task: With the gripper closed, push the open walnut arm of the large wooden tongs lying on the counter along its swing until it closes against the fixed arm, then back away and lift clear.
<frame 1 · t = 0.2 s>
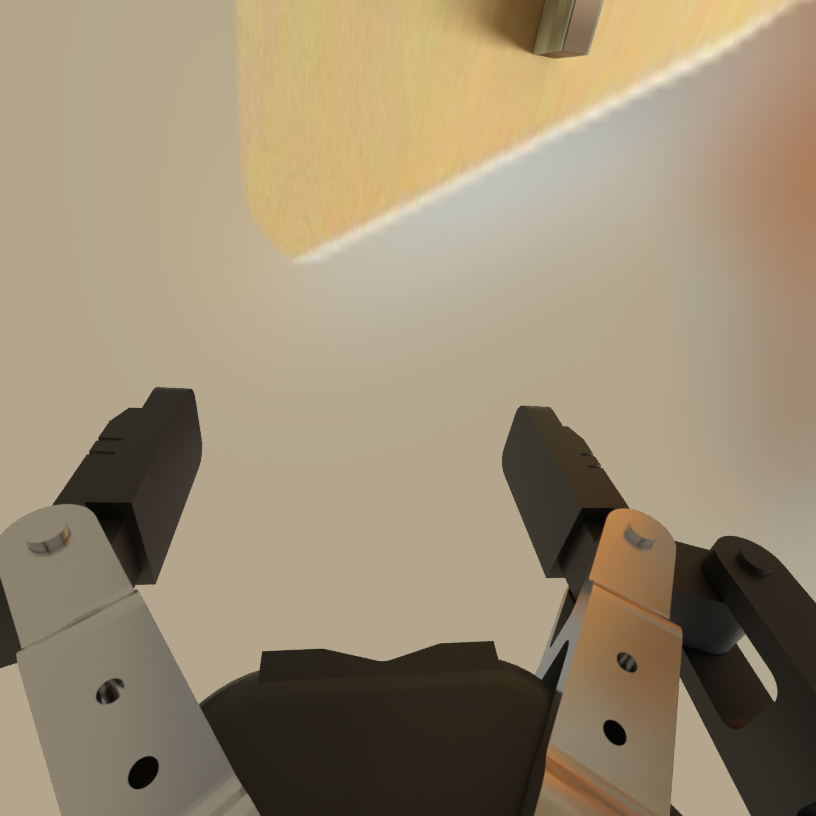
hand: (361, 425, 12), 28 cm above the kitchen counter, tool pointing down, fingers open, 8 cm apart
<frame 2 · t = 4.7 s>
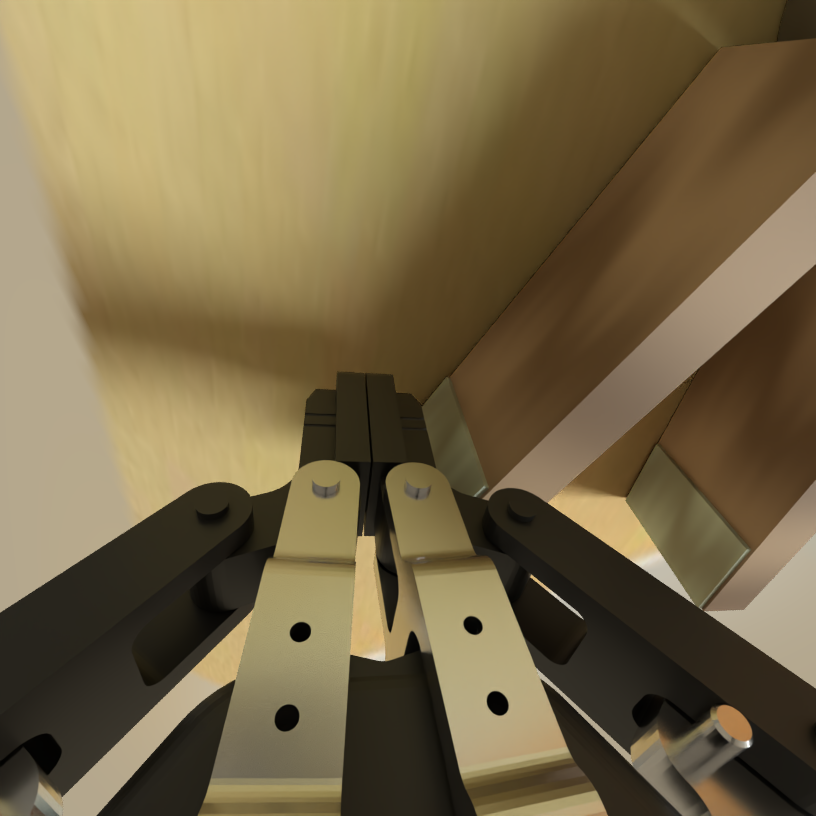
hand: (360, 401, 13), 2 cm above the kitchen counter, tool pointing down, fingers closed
tong arm: (578, 338, 11), point 3 cm above the kitchen counter, hinge at -27.7°, touching gripper
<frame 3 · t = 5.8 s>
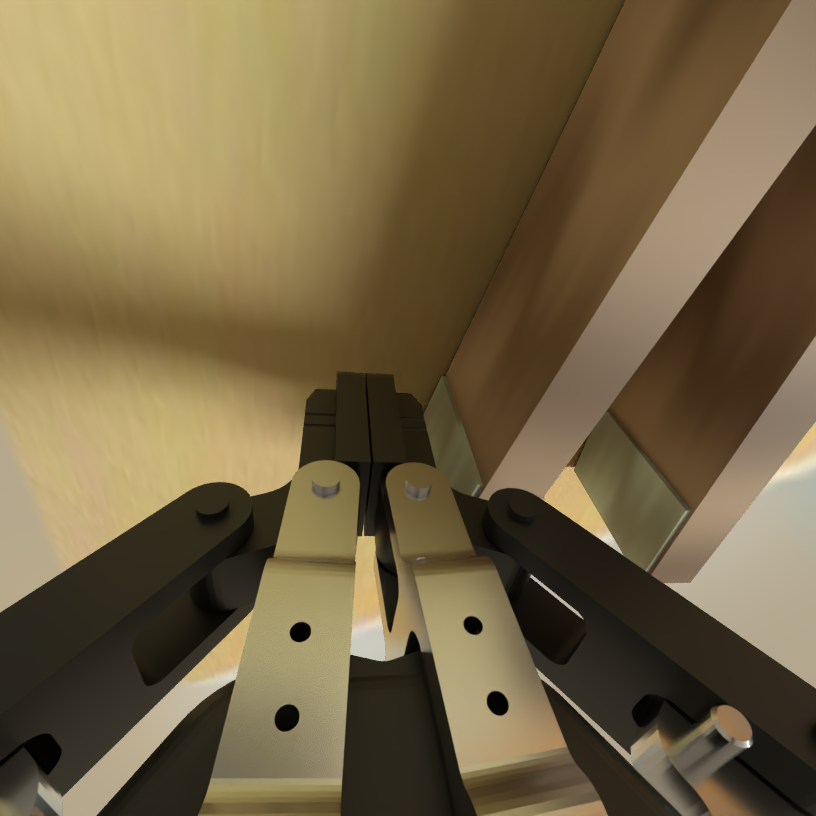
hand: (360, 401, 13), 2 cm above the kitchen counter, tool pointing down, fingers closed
tong arm: (551, 315, 11), point 3 cm above the kitchen counter, hinge at -13.5°, touching gripper
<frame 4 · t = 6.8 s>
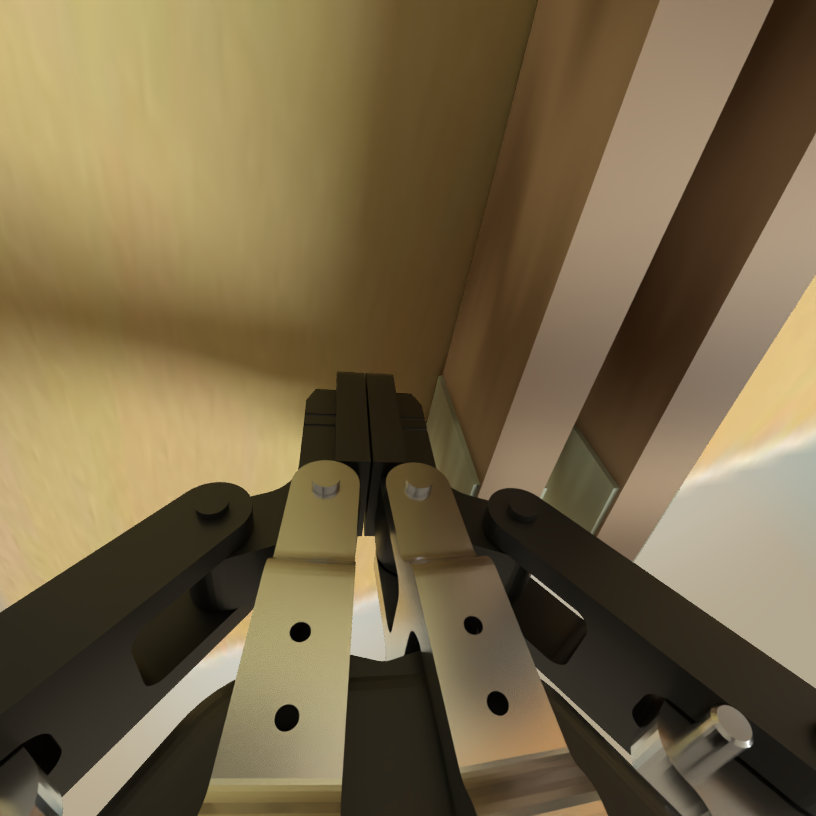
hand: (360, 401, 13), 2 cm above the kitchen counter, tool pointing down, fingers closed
tong arm: (526, 301, 11), point 3 cm above the kitchen counter, hinge at -2.6°, touching gripper
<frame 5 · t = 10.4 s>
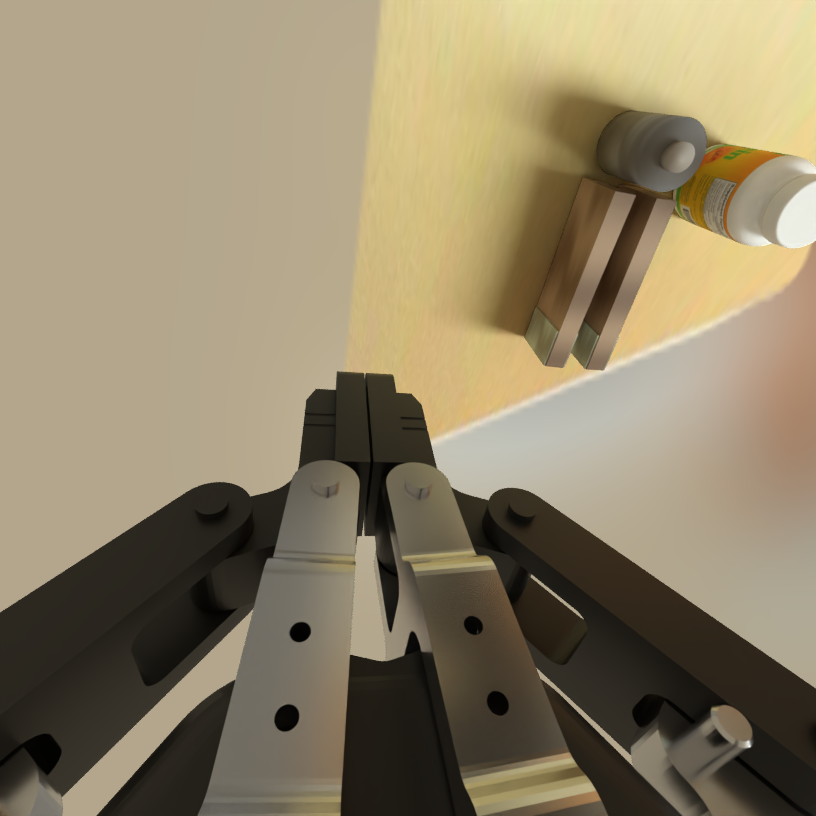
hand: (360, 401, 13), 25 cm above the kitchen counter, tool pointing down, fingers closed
tongs frame: (624, 144, 33), on the kitchen counter
supplement bottle: (704, 183, 35), on the kitchen counter
tong arm: (572, 277, 35), point 3 cm above the kitchen counter, hinge at -2.4°
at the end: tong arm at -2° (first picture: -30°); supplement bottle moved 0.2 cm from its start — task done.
